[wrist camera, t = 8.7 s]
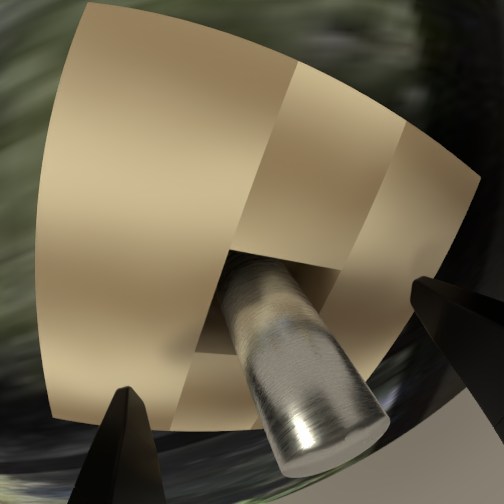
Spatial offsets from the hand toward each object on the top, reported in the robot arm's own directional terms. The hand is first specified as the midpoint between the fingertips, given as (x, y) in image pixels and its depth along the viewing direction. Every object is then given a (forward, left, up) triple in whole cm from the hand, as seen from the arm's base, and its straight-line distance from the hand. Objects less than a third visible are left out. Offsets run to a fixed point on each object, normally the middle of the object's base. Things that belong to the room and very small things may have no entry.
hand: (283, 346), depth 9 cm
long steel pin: (0, 0, -6) cm, 6 cm away
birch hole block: (0, 0, -6) cm, 6 cm away
